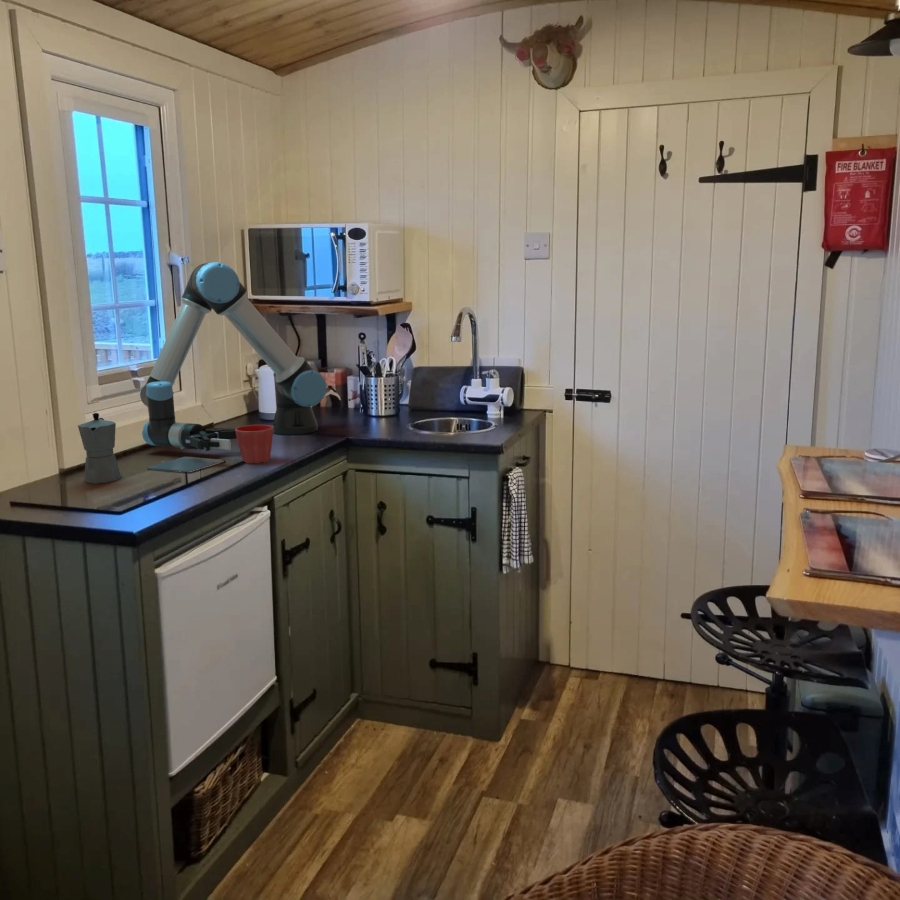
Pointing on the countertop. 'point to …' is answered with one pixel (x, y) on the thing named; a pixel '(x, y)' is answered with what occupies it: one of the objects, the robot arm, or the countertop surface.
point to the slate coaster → (184, 464)
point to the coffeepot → (99, 450)
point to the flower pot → (255, 442)
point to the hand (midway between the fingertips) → (245, 440)
